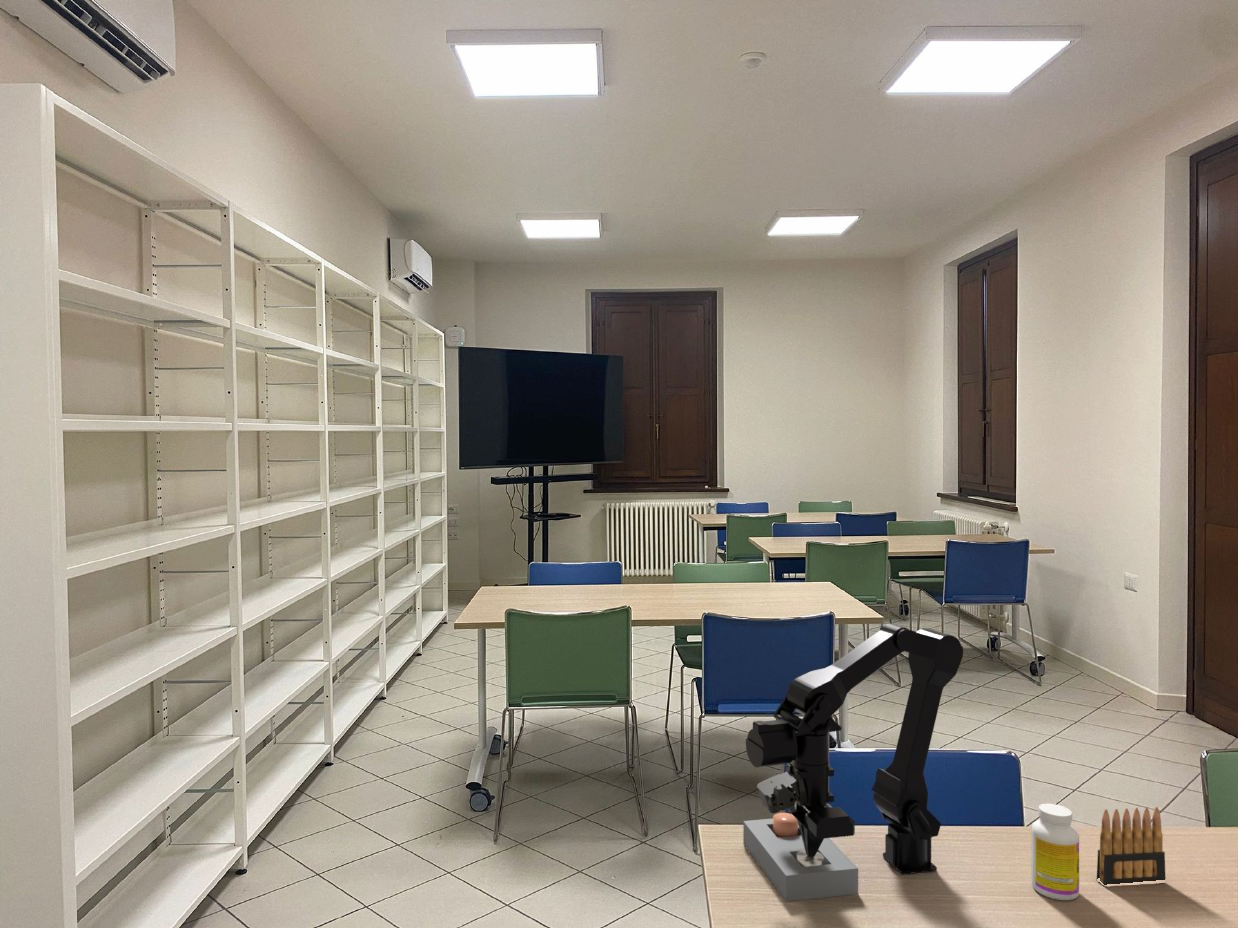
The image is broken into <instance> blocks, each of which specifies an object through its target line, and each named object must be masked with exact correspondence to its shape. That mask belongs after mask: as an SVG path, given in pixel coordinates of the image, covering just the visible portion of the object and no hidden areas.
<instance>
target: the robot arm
mask: <svg viewBox="0 0 1238 928" xmlns="http://www.w3.org/2000/svg"><path fill="white" fill-rule="evenodd" d="M903 652H906V653H908V659H907V661H908V666H909V669H910V672H911V677H912V678H911V679H912V680H911V684H910V690H909V693H908V697H907V701H906V705H905V710H904V714H903V720H902V722H901V727H900V732H899V736H898V738H897V743H896V749H895V752H894V756H893V760H892V762H891V763H890V764H889V765H888V766H887V767H886V768H885V769H882V768H881V767H878V768H877V770H876V771H875V772H876V773H875V780H874V784H873V786H872V787H871V789H870V790H871V792H873V798H872V799H873V803H874V804H875V806H876V809H878V810H879V811H880V814H881V815H880V816H881V817H882V819H883V820H886V821H887V822H889V823H888V824H887V833H886V834H885V837H884V838H885V840H884V842H885V844H884V845H885V848H884V849H885V852H882V857H883V858H884V859H885V860H886V861H887V862H888V863H890V865H891V866H892V867H894V868H895V870H896V871H898V872H899V873H900V874H902V875H909V874H918V873H928V872H937V871H938V869H937V868H938V867H937V866H936V865H935V864H934V863H933V862H932V839H933V838H934V837H938V836H939V834H940V829H941V826H942V824H941V821H939V820H938V819H937V817H935V815H933V814H932V812H931V811H929V810H928V803H929V801H928V800H929V790H928V786H927V781H926V778H925V774H924V773H925V767H926V762H927V759H928V754H929V749H930V745H931V741H932V736H933V733H934V728H935V725H936V720H937V716H938V712H939V711H938V710H939V707H940V704H941V698H942V694H943V691H944V688H945V687H946V686H947V685H948V684H949V683H950V682H951V681H952V680H953V679H954V678H955V677H956V675H957V673H958V670H959V668H960V665H961V662H962V660H963V657H964V647H963V646H962V644H961V641H960V640H959V639H958V638H957V637H956V636H954V635H951V634H948V633H944V632H941V631H938V630H934V629H932V628H927V627H926V628H925V627H924V628H921V629H919V630H917V631H915V630H912V629H910V628H907V627H905V626H902V625H898V624H895V623H886V624H883V625H882V626H881V627H880V628H879V630H878V631H876V633H874V634H872V635H871V636H870V637H868V638H867V639H865V640H864V641H863V642H862V643H860V644H859V645H857V646H856V647H855V648H853V649H852V650H850V651H849V652H847V653H846V654H844V655H843V656H842V657H841V658H839V659H838V660H837V661H835V662H833V663H832V664H831V665H830V664H829V666H827V667H825V668H820V669H815V670H811V671H809V672H806V673H804V674H802V675H800V676H797V677H795V678H794V679H793V680H792V681H791V682H790V683H789V684H788V686H787V689H788V690H787V693H786V694H785V696H784V698H783V699H782V701H781V702H780V704H779V705H778V707H777V708H776V710H775V712H774V714H773V718H774V720H765V721H764V720H754V721H753V722H752V729H750V730H749V731H748V734H747V736H746V737H747V738H746V739H745V747H746V749H745V750H746V753H747V756H748V760H749V761H750V763H751V765H752V766H753V767H754V768H757V769H758V768H764V767H771V766H778V765H786V769H785V772H779V773H777V772H776V774H775V775H773V776H771V777H768V778H767V779H764V780H763V781H760V782H758V784H757V785H756V788H757V790H758V794H759V797H760V799H761V803H762V805H763V806H765V808H766V809H767V810H768V811H769V813H771V814H777V813H781V811H785V810H788V812H790V813H789V814H792V815H793V816H794V817H795V818H796V819H797V822H798V825H799V829H800V832H801V836H802V840H803V844H804V848H805V851H806V855H807V856H808V857H814V856H815V855H816V853H817V851H818V849H819V847H820V845H821V843H822V842H823V840H824V838H829V839H832V838H835V839H836V838H842V837H843V838H845V837H853V836H854V835H855V834H856V828H855V826H856V825H855V823H856V822H855V820H854V819H853V818H852V817H851V816H850V815H849V814H847V812H845V811H844V810H843V809H842V808H841V807H840V806H831V804H829V803H833V802H835V795H834V794H833V793H832V792H830V777H834V776H835V769H834V768H833V767H831V765H830V733H833V732H840V731H842V726H841V725H840V724H838V723H837V721H836V720H834V718H833V715H834V714H836V713H837V712H838V710H839V709H840V708H841V707H842V706H843V705H844V704H845V703H844V702H845V700H846V697H847V695H848V694H849V693H850V692H851V690H853V689H854V688H855V687H856V686H858V685H859V684H861V683H862V682H863V681H865V680H866V679H867V678H869V677H870V676H871V675H873V674H874V673H876V672H877V671H879V670H880V669H881V668H883V667H884V666H885V665H887V664H888V663H889V662H891V661H892V660H894V659H895V658H896V657H898V656H899V655H900V654H902V653H903ZM794 712H797V713H799V714H800V715H802V716H803V717H802V718H801V717H799V716H798V715H796V714H794Z"/></svg>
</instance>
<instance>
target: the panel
mask: <svg viewBox="0 0 1238 928" xmlns="http://www.w3.org/2000/svg"><path fill="white" fill-rule="evenodd" d="M742 825H743V831H742V833H743V834H742V835H743V840H742V841H743V845H744V847H745V848H746V849H747V850H748V852H749V853H750V855H751V856H752V857H753V859H754V860H755V862H756V863H757V864H758V866H759V867H760V869H762V871H763V872H764V874H765V875H766V877H768V879H769V881H770V882H771V883H772V885H773V886H774V888H776V890H777V891H778V893H779V894H780V896H781V897H782V898H783V900H784V901H785V902H786V903H788V902H795V901H796V902H797V901H804V900H812V899H813V900H814V899H821V898H822V899H823V898H832V897H833V898H834V897H842V896H849V895H850V896H851V895H858V894H859V867H858V866H857V865H856V864H855V863H854V862H853V861H852V860H851V859H850V858H849V857H848V856H847V855H846V854H845V853H844V852H843V851H842V850H841V849H840V848H839V846H837V845H836V844H835V843H834V842H833V840H831V838H824V840H823V842H822V843H821V845H820V847H819V849H818V851H817V852H819V853H821V854H822V855H823V857H824V865H818V866H808V867H802V866H801V865H800V864H799V863H798V862H797V853H798V852H799V851H802V850H805V848H804V844H803V840H802V836H801V832H800V829H799V825H798V836H790V837H779V838H777V837H776V835H775V834H774V833H773V818H763V819H752V820H751V819H750V820H743V823H742Z"/></svg>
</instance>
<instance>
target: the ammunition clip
mask: <svg viewBox="0 0 1238 928" xmlns="http://www.w3.org/2000/svg"><path fill="white" fill-rule="evenodd" d="M1141 819H1142V820H1141ZM1121 820H1122V821H1121ZM1131 821H1132V822H1131ZM1121 822H1122V823H1121ZM1100 830H1101V831H1100V834H1099V849H1097V863H1096V864H1097V865H1096V866H1097V867H1096V880H1097V879H1098V878H1100V881H1101V882H1102V883H1103V884H1104V885H1107V884H1120V883H1133V882H1143V881H1156V880H1165V879H1166V854H1165V851H1164V850H1163V848H1164V847H1163V839H1164V838H1163V837H1164V835H1163V831H1162V818H1161V813H1160V809H1159V808H1158V806H1155V808H1154V810H1153V812H1152V818H1151V813H1150V810H1149V808H1148V807H1145V808H1144V810H1143V814H1142V818H1141V813H1140V811H1139V808H1138V807H1135V809H1134V811H1133V814H1132V820H1131V814H1130V812H1129V809H1128V808H1125V809H1124V812H1123V815H1122V819H1121V816H1120V812H1119V809H1118V808H1115V810H1114V811H1113V814H1112V818H1111V819H1110V813H1109V811H1108V809H1106V808H1105V809H1104V811H1103V813H1102V818H1101V827H1100ZM1166 880H1167V879H1166Z"/></svg>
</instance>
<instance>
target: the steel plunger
mask: <svg viewBox="0 0 1238 928" xmlns="http://www.w3.org/2000/svg"><path fill="white" fill-rule="evenodd" d="M797 862H798V863H799V864H800V865H801V866H802V867H808V866H818V865H824V857H823V855H822V854H821V853H819V852H817V853H816V855H815V856H814V857H808V856H807V855H806V851H805V850H802V851H799V852H798V853H797Z"/></svg>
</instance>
